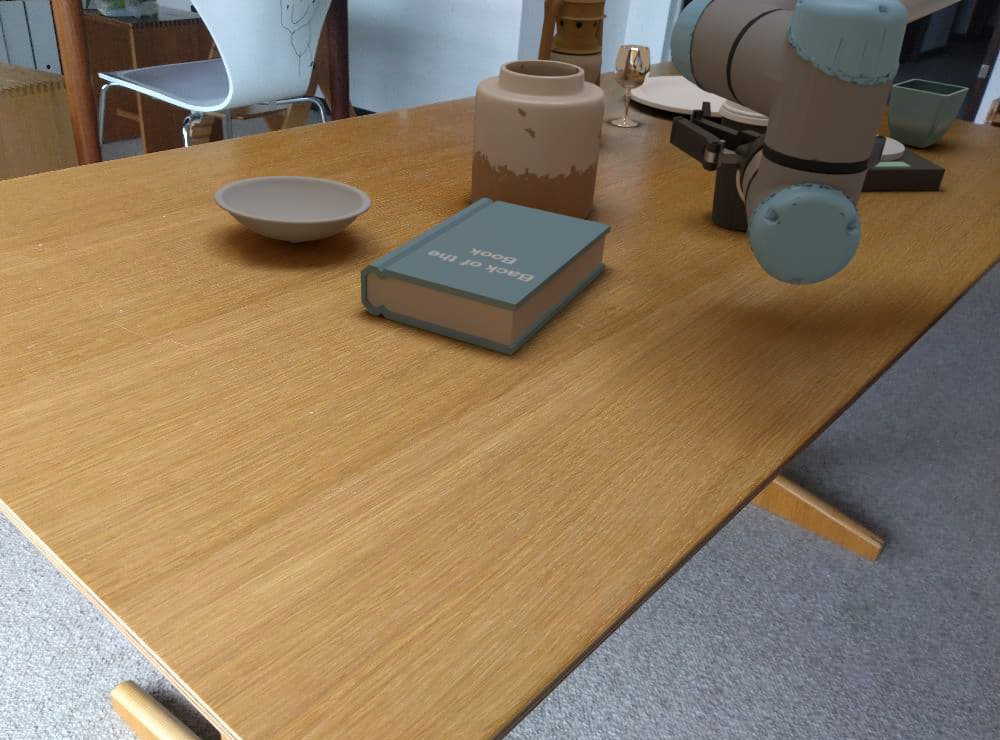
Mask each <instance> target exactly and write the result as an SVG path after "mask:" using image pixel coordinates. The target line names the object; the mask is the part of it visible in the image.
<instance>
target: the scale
mask: <svg viewBox="0 0 1000 740" xmlns="http://www.w3.org/2000/svg"><path fill="white" fill-rule="evenodd" d="M878 135H880V134H879V133H877V135H876V136H878ZM885 137H886V138H887V139H886V143H885V146H884V150H883V153H882V156H881V159H880V163H879V164H878V165H876V166H874V167H873V168H871V169H870V170H868V171H867V173H866V176H865V180H864V183H863V186H862V190H861V192H876V191H877V192H887V191H888V192H891V191H892V192H893V191H895V192H896V191H899V192H900V191H902V192H904V191H906V192H907V191H910V192H911V191H939V190H940V187H941V184H942V181H943V179H944V175H945V173H946V168H944V167H942V166H940V165H939V164H936V163H935V162H933V161H930V160H928V159H927V158H925V157H923V156H922V155H919V154H918V153H915V152H914V151H912V150H910V149H907V148H906V147H905V144H901V143H900V142H898V141H896V140H894V139H892V138H891V137H888V136H885Z"/></svg>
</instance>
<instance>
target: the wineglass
mask: <svg viewBox="0 0 1000 740" xmlns="http://www.w3.org/2000/svg"><path fill="white" fill-rule="evenodd" d="M613 67H614V68H613V78H614V80H615V82H616V84H618V85H619V86H620V87H622V88H624V89H625V90H626V89H628V90H627V92H625V96H624V97H625V107H624V114H623V116H622V117H621V118H617V119H613V120H611V124H612V125H614V126H616V127H617V126H618V127H622V128H623V127H624V128H633V127H637V126H639V123H638V122H637V121H636V120H632V119H630V118H629V105H630V101H631V100H632V99H631V96H632V92H631V89H635V88H638V87H640V86H642V85H643V84H644V83H645V82H646V81H647V79H648V77H650V72H651V51H650V47H649V46H645V45H639V44H622V45H620V46H619V49H618V52H617V54H616V57H615V61H614V66H613Z"/></svg>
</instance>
